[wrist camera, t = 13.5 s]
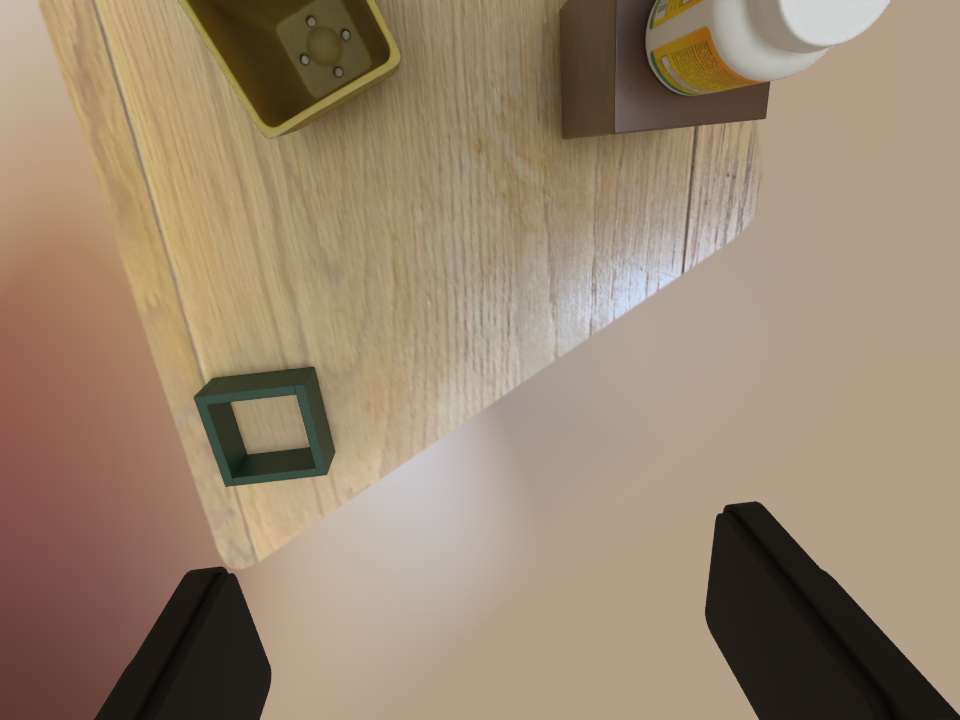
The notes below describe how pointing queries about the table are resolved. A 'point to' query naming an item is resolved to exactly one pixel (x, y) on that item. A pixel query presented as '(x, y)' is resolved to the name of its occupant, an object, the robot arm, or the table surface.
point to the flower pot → (295, 54)
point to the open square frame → (275, 464)
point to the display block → (631, 77)
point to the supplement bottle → (747, 39)
